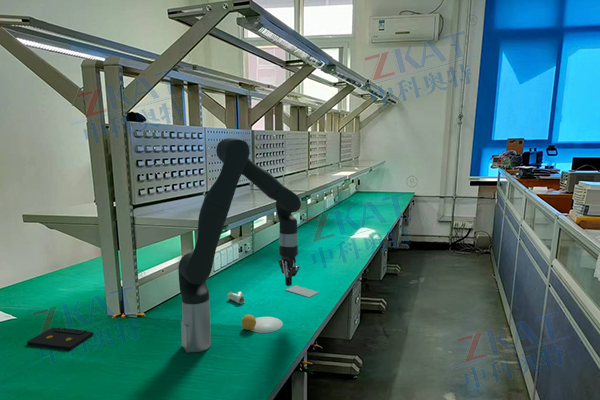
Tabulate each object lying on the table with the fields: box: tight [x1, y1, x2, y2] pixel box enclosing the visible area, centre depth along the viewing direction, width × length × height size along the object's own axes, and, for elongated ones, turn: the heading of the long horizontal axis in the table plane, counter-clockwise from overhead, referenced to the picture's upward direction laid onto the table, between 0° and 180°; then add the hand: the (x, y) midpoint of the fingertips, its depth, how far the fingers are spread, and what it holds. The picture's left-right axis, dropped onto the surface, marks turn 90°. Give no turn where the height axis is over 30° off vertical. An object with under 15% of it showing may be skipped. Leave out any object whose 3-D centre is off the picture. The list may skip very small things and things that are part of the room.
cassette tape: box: [26, 327, 94, 352], centre depth 148 cm, size 18×12×2 cm, turn 78°
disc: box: [250, 316, 284, 334], centre depth 161 cm, size 14×14×1 cm
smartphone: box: [284, 284, 320, 298], centre depth 196 cm, size 8×1×15 cm
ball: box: [240, 314, 256, 331], centre depth 157 cm, size 6×6×6 cm
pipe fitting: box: [227, 291, 246, 305], centre depth 185 cm, size 8×4×7 cm
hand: (288, 285), depth 165 cm, fingers closed
